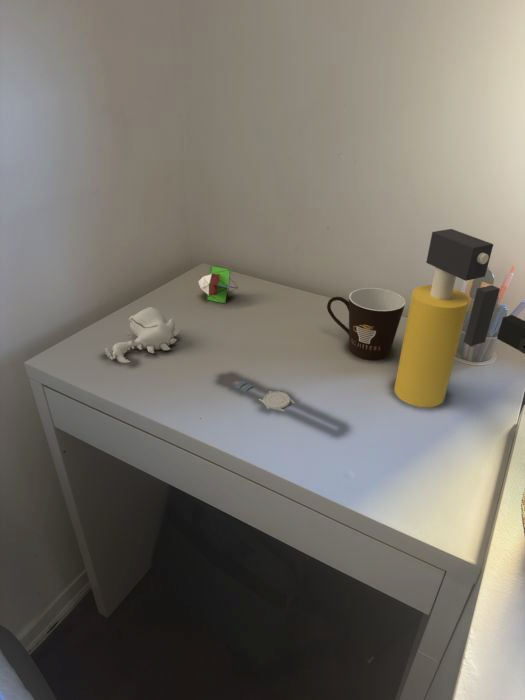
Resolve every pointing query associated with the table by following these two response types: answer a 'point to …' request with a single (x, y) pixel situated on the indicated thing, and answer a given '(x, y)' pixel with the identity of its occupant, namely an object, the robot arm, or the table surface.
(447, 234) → the spray bottle
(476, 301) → the trigger
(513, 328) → the robot arm
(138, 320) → the toy character
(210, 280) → the geometric puzzle
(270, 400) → the wristwatch
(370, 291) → the coffee mug
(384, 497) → the table surface
